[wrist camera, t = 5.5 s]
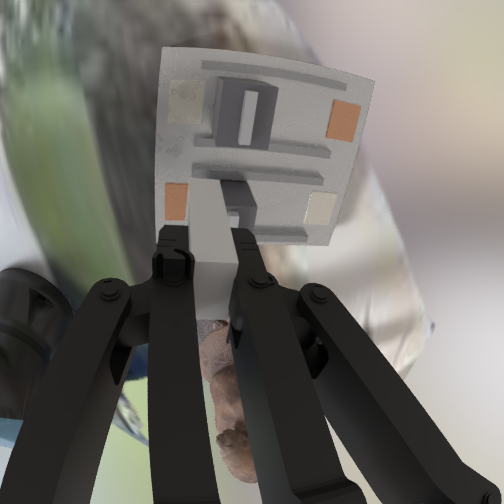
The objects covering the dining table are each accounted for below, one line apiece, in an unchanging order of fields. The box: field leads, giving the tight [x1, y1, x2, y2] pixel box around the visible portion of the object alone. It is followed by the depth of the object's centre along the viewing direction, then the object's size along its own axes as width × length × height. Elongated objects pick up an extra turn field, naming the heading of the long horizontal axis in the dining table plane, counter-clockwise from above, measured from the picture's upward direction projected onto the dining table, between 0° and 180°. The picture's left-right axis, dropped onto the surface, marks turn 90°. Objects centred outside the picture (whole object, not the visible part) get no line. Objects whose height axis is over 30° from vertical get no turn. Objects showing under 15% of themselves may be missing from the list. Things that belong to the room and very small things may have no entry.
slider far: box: [220, 181, 258, 234], centre depth 28 cm, size 4×5×6 cm
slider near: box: [212, 77, 279, 150], centre depth 22 cm, size 4×5×6 cm
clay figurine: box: [199, 312, 258, 483], centre depth 36 cm, size 13×10×25 cm
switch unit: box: [155, 47, 375, 246], centre depth 29 cm, size 20×20×4 cm
